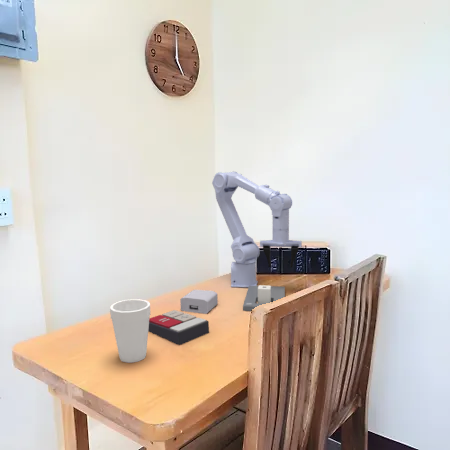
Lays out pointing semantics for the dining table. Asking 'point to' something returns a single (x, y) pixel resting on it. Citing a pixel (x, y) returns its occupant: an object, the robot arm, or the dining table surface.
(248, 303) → the socket board
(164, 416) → the dining table surface
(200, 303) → the charger
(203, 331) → the black button box
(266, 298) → the charger
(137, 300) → the foam cup
